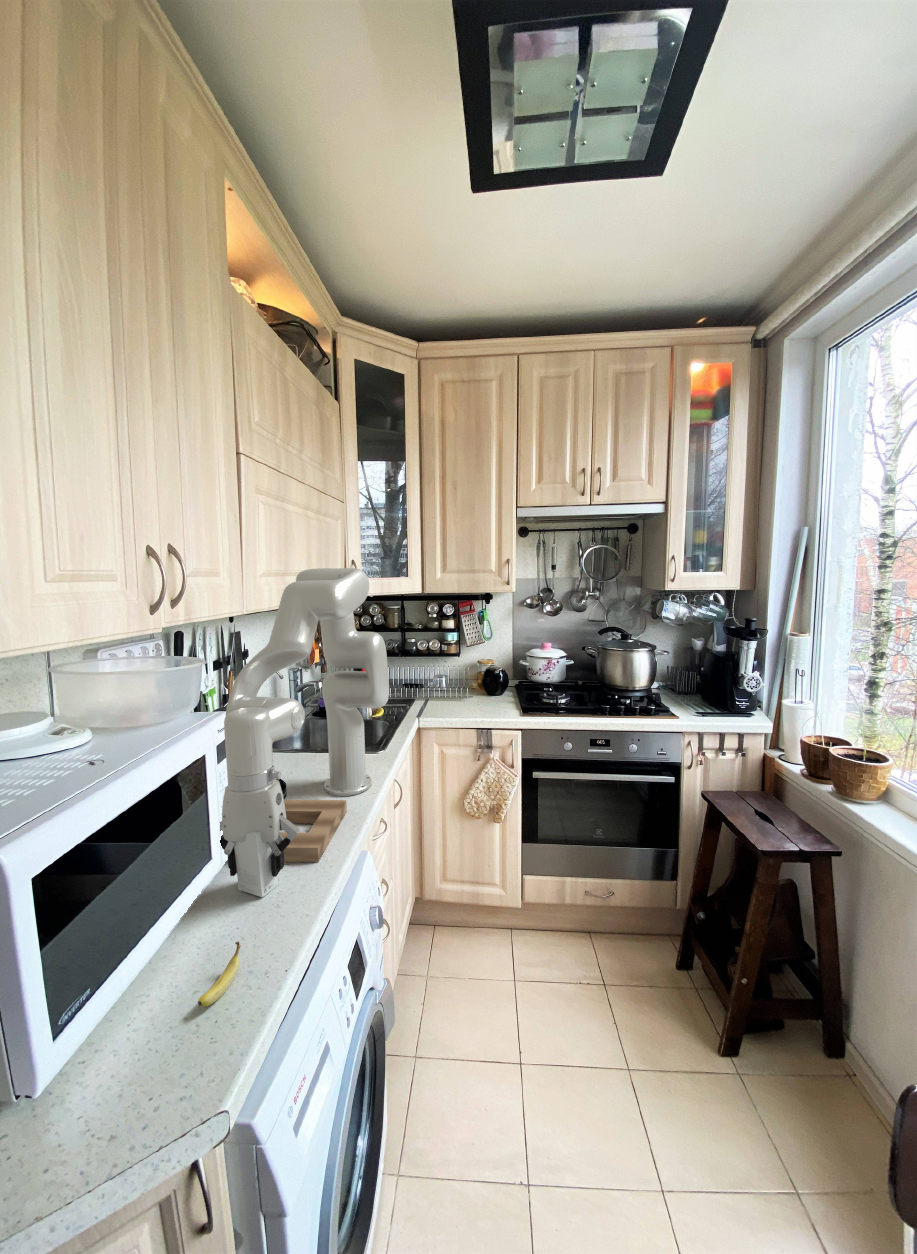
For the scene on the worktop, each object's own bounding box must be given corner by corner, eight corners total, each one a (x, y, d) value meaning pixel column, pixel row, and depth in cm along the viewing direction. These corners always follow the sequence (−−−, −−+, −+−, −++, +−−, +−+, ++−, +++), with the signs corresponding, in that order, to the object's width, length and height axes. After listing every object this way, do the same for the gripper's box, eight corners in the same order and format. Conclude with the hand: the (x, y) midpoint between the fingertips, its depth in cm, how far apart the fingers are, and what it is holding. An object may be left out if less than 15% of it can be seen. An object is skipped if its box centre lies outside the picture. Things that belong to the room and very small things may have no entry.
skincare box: (279, 884, 87) (276, 822, 85) (260, 899, 82) (256, 834, 81) (255, 876, 89) (251, 815, 88) (235, 890, 85) (231, 827, 84)
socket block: (277, 811, 114) (276, 799, 114) (346, 811, 113) (346, 800, 113) (235, 860, 94) (234, 846, 94) (318, 861, 93) (318, 847, 93)
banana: (235, 964, 69) (234, 939, 68) (246, 966, 69) (245, 941, 68) (195, 1015, 61) (193, 987, 60) (207, 1017, 61) (205, 989, 60)
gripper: (306, 769, 87) (311, 859, 89) (215, 769, 88) (221, 858, 90) (290, 787, 79) (296, 885, 81) (190, 786, 80) (198, 884, 82)
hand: (257, 870), depth 85 cm, fingers closed on skincare box, 7 cm apart
